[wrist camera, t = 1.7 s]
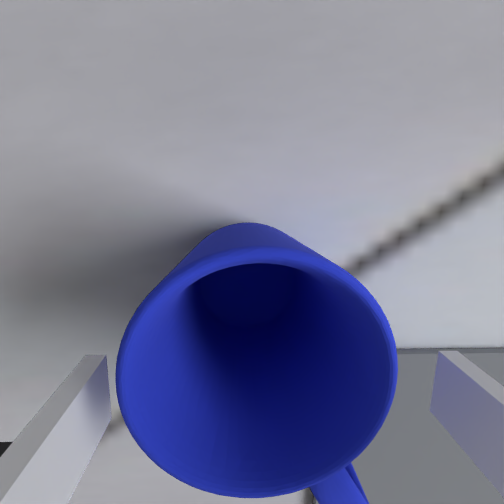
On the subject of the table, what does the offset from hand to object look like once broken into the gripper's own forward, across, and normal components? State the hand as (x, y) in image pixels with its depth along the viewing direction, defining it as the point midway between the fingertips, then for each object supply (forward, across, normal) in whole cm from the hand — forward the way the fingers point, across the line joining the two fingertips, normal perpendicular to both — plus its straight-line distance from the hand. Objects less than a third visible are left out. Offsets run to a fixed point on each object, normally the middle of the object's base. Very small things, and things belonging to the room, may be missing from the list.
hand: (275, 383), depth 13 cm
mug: (+7, 0, +1) cm, 7 cm away
